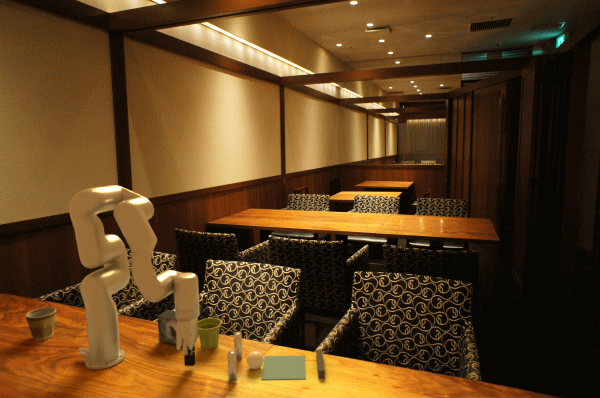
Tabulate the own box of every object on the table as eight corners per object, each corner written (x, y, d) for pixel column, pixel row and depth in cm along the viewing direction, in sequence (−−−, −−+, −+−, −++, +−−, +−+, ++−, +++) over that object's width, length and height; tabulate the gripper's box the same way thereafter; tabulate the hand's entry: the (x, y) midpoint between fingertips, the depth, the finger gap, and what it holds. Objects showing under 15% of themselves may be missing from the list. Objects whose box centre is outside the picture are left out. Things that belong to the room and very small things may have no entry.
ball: (252, 353, 128) (266, 363, 128) (254, 344, 133) (267, 354, 134) (242, 366, 128) (255, 376, 129) (244, 357, 134) (257, 366, 134)
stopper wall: (318, 378, 125) (318, 370, 125) (316, 356, 138) (316, 349, 138) (324, 378, 125) (324, 370, 125) (322, 356, 138) (322, 349, 138)
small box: (157, 342, 149) (156, 316, 148) (169, 335, 155) (168, 309, 154) (180, 347, 145) (179, 320, 144) (191, 339, 151) (190, 313, 150)
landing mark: (261, 379, 124) (261, 379, 124) (264, 356, 138) (264, 356, 138) (305, 379, 124) (305, 378, 124) (304, 356, 138) (304, 355, 138)
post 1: (227, 381, 124) (226, 354, 123) (229, 376, 126) (228, 350, 125) (236, 381, 124) (235, 354, 123) (237, 376, 126) (236, 350, 125)
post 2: (234, 360, 136) (233, 335, 135) (235, 356, 139) (234, 331, 138) (241, 359, 136) (240, 335, 135) (242, 356, 139) (242, 331, 138)
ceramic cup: (63, 334, 157) (61, 310, 155) (35, 345, 148) (33, 319, 147) (47, 327, 164) (44, 303, 162) (19, 336, 155) (17, 312, 154)
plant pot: (216, 353, 141) (215, 330, 140) (191, 350, 143) (190, 327, 142) (226, 340, 150) (225, 318, 149) (203, 338, 152) (202, 317, 151)
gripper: (182, 302, 136) (185, 353, 138) (168, 321, 121) (171, 377, 124) (204, 302, 136) (206, 352, 138) (193, 321, 121) (195, 377, 124)
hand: (190, 364), depth 131 cm, fingers closed
